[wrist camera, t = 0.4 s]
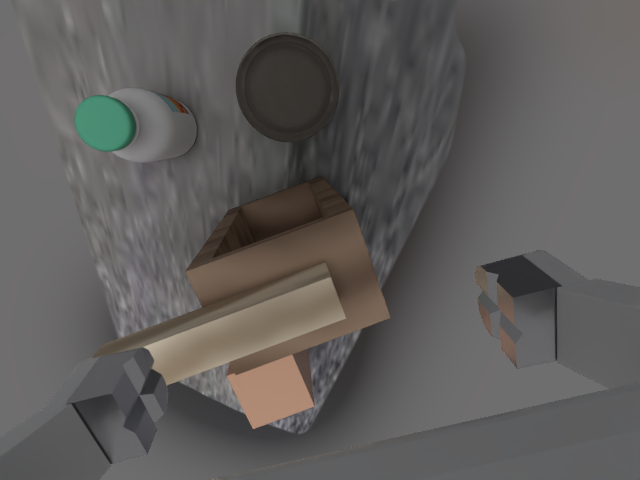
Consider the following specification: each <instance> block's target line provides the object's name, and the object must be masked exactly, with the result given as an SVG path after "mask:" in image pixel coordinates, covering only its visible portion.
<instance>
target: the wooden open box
mask: <svg viewBox="0 0 640 480" xmlns="http://www.w3.org/2000/svg"><path fill="white" fill-rule="evenodd" d="M323 262H326V265H327V268H328V270H329V273H330V276H331V278H332V281H333V284H334V286H335V289H336V292H337V294H338V297H339V300H340V302H341V305H342V308H343V311H344V314H345V317H346V319H343V320H340V321H338V322H335V323H332V324H330V325H327V326H324V327H322V328H319V329H316V330H314V331H311V332H308V333H306V334H303V335H300V336H298V337H295V338H292V339H290V340H287V341H284V342H281V343H279V344H276V345H273V346H271V347H268V348H265V349H263V350H260V351H257V352H255V353H252V354H249V355H247V356H244V357H241V358H239V359H236V360H233V361H231V362H230V364H231V367H232V369H233V371H234V373H235V375H238V374H241V373H244V372H246V371H249V370H252V369H255V368H257V367H260V366H263V365H265V364H268V363H271V362H273V361H276V360H279V359H281V358H284V357H287V356H289V355H292V354H295V353H297V352H300V351H303V350H305V349H308V348H311V347H314V346H316V345H319V344H322V343H324V342H327V341H330V340H332V339H335V338H338V337H340V336H343V335H346V334H348V333H351V332H354V331H356V330H359V329H362V328H364V327H367V326H370V325H372V324H375V323H377V322H381V321H383V320H385V319H389V318H390V315H389V312H388V309H387V306H386V304H385V301H384V297H383V295H382V291H381V289H380V286H379V283H378V280H377V277H376V274H375V271H374V268H373V265H372V262H371V259H370V256H369V253H368V250H367V247H366V244H365V241H364V238H363V236H362V233H361V230H360V227H359V224H358V221H357V218H356V215H355V212H354V209H353V208H352V207H351V206H350V205H349V204H348V203H347V202H346V201H345V200H344V199H343V198H342V197H341V196H340V195H339V194H338V193H337V192H336V191H335V190H334V189H333V188H332V187H331V186H330V185H329V183H328V182H327V181H326V180H325V179H324V178H323V177H322V176H320V177H317V178H314V179H311V180H309V181H306V182H303V183H301V184H298V185H295V186H293V187H290V188H287V189H285V190H282V191H279V192H277V193H274V194H271V195H269V196H266V197H263V198H261V199H258V200H255V201H253V202H250V203H247V204H245V205H242V206H239V207H237V208H234V209H231V210H229V211H228V212H227V213H226V215H225V216H224V218H223V219H222V221H221V222H220V223H219V225H218V226H217V228H216V229H215V230H214V232H213V233H212V235H211V236H210V237H209V239H208V240H207V242H206V243H205V245H204V246H203V247H202V249H201V250H200V252H199V253H198V254H197V256H196V257H195V259H194V260H193V261H192V263H191V264H190V266H189V267H188V269H187V270H186V271H185V273H186V275H187V277H188V279H189V281H190V283H191V285H192V287H193V289H194V291H195V293H196V295H197V297H198V299H199V301H200V303H201V305H202V307H205V306H208V305H211V304H213V303H216V302H219V301H222V300H224V299H227V298H230V297H232V296H235V295H238V294H240V293H243V292H246V291H248V290H251V289H254V288H256V287H259V286H262V285H264V284H267V283H270V282H272V281H275V280H278V279H280V278H283V277H286V276H289V275H291V274H294V273H297V272H299V271H302V270H305V269H307V268H310V267H313V266H315V265H318V264H321V263H323Z"/></svg>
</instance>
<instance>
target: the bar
mask: <svg viewBox="0 0 640 480" xmlns="http://www.w3.org/2000/svg"><path fill="white" fill-rule="evenodd" d="M343 319H346V317H345V314H344V311H343V308H342V305H341V302H340V300H339V297H338V294H337V292H336V289H335V286H334V284H333V281H332V278H331V276H330V273H329V270H328V268H327V265H326V262H323V263H321V264H318V265H315V266H313V267H310V268H307V269H305V270H302V271H299V272H297V273H294V274H291V275H289V276H286V277H283V278H280V279H278V280H275V281H272V282H270V283H267V284H264V285H262V286H259V287H256V288H254V289H251V290H248V291H246V292H243V293H240V294H238V295H235V296H232V297H230V298H227V299H224V300H222V301H219V302H216V303H213V304H211V305H208V306H205V307H203V308H200V309H197V310H195V311H192V312H189V313H187V314H184V315H181V316H179V317H176V318H173V319H171V320H168V321H165V322H163V323H160V324H157V325H155V326H152V327H149V328H147V329H144V330H141V331H138V332H136V333H133V334H130V335H128V336H125V337H122V338H120V339H117V340H114V341H112V342H109V343H106V344H104V345H103V346H102V347H101V348H100V349H99V350H98V351H97V353H96V354H95V355H94V356H93V357H92V358H96V357H99V356H105V355H109V354H114V353H118V352H123V351H127V350H132V349H136V348H141V347H143V348H146V349H148V350H149V351H150V353H151V355H152V357H153V358H154V360H155V361H154V364H153V368H152V369H153V370H155V371H157V372H158V373H160V374H162V376H163V378H164V380H165V382H166V385H169V384H172V383H174V382H177V381H180V380H182V379H185V378H188V377H190V376H193V375H196V374H198V373H201V372H204V371H206V370H209V369H212V368H214V367H217V366H220V365H222V364H225V363H228V362H231V361H233V360H236V359H239V358H241V357H244V356H247V355H249V354H252V353H255V352H257V351H260V350H263V349H265V348H268V347H271V346H273V345H276V344H279V343H281V342H284V341H287V340H290V339H292V338H295V337H298V336H300V335H303V334H306V333H308V332H311V331H314V330H316V329H319V328H322V327H324V326H327V325H330V324H332V323H335V322H338V321H340V320H343ZM92 358H91V359H92Z"/></svg>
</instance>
